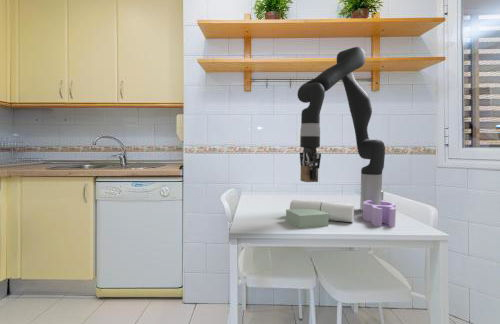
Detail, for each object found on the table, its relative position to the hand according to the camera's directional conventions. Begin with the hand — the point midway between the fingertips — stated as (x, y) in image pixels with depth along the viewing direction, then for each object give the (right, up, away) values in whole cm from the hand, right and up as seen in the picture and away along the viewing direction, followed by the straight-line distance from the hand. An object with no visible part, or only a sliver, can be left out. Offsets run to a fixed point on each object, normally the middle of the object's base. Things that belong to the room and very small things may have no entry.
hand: (309, 178), depth 125 cm
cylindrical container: (-5, -13, +12) cm, 18 cm away
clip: (+30, -18, +5) cm, 35 cm away
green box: (-1, -18, -1) cm, 18 cm away
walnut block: (0, -1, 0) cm, 1 cm away
